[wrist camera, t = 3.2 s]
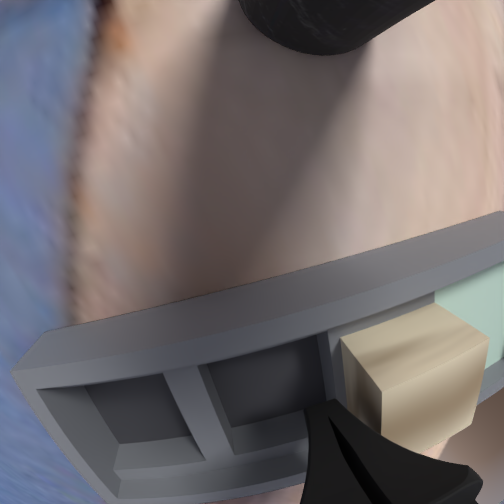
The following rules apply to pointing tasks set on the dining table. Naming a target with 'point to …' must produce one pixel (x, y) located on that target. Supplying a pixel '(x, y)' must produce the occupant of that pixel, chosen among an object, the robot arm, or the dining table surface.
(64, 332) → the tray
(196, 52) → the dining table surface
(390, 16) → the travel mug
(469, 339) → the birch block
